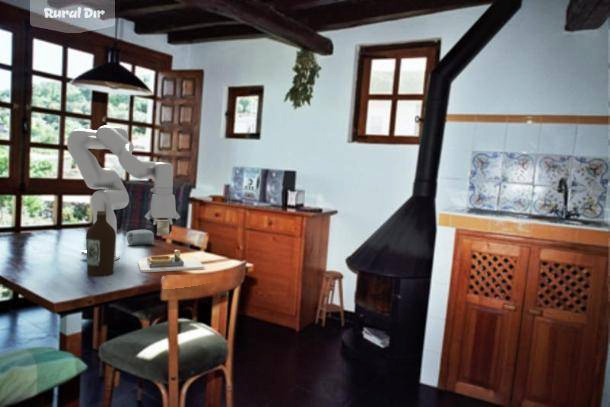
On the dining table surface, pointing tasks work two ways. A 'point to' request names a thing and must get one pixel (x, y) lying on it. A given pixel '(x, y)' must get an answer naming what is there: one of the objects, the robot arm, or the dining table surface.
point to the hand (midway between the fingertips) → (162, 233)
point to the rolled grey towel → (140, 237)
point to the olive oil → (100, 247)
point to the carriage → (165, 260)
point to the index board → (188, 265)
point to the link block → (162, 227)
